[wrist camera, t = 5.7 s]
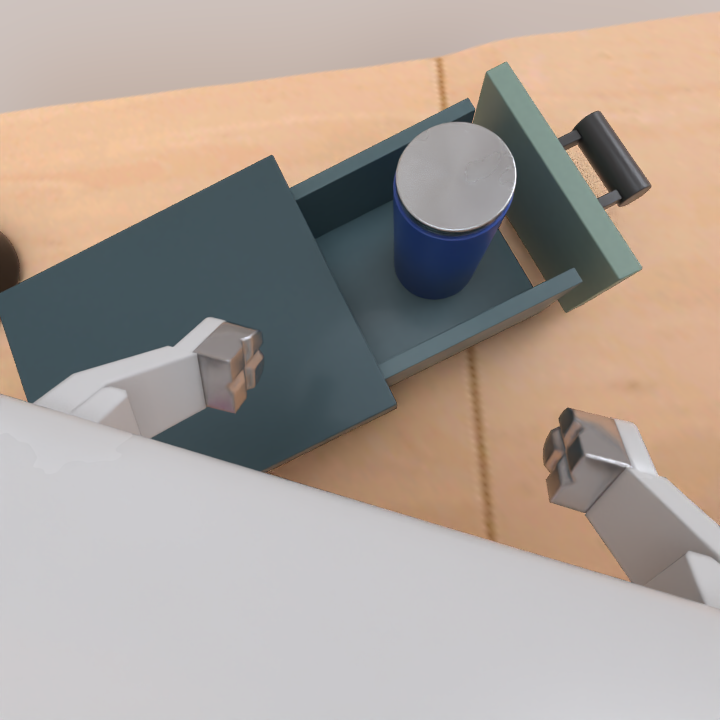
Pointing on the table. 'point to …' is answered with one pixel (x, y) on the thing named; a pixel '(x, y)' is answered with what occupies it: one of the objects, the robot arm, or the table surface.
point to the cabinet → (211, 299)
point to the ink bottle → (8, 264)
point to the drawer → (498, 265)
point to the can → (448, 205)
